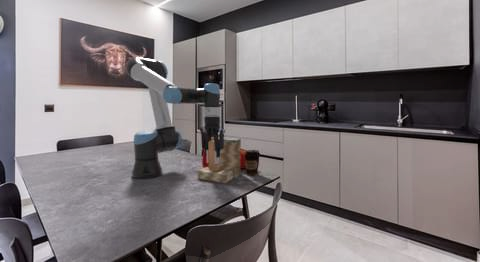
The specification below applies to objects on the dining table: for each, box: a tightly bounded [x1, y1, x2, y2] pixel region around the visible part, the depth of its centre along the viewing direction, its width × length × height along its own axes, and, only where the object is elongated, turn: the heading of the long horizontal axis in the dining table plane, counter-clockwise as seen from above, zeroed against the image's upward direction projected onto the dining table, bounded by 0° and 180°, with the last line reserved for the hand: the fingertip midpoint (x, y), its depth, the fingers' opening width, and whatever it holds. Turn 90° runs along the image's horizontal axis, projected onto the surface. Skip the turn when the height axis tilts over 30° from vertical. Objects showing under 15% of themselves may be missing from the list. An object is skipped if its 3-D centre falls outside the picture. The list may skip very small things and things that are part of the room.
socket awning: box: [197, 137, 242, 184], centre depth 123 cm, size 16×17×19 cm
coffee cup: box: [245, 149, 261, 176], centre depth 126 cm, size 9×8×13 cm
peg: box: [208, 141, 217, 170], centre depth 116 cm, size 4×4×14 cm
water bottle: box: [201, 132, 219, 168], centre depth 142 cm, size 9×11×25 cm
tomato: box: [241, 149, 247, 169], centre depth 140 cm, size 14×13×10 cm
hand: (212, 162), depth 117 cm, fingers closed on peg, 4 cm apart
